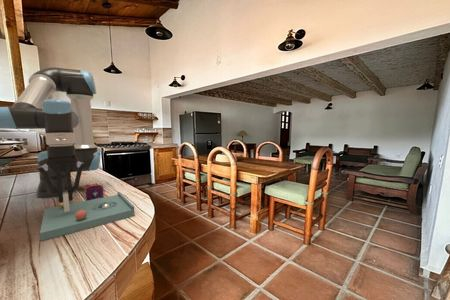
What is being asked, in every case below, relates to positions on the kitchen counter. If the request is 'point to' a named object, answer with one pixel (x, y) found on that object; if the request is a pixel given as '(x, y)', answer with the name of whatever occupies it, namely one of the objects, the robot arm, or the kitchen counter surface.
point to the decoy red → (81, 214)
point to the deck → (96, 215)
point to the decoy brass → (62, 204)
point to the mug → (94, 192)
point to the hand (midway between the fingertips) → (66, 210)
